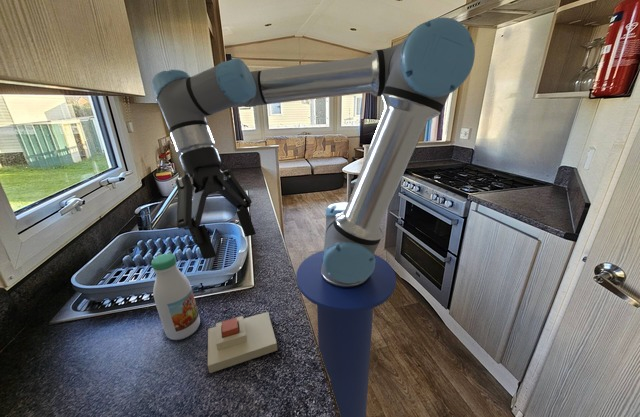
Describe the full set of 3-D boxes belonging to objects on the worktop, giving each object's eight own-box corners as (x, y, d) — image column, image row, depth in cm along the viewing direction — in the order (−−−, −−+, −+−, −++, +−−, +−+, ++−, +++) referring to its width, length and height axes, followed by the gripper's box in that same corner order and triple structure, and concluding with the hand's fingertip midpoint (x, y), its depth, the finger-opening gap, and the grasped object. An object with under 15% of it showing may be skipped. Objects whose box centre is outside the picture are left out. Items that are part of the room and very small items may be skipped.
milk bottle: (164, 346, 59) (139, 272, 52) (167, 322, 66) (145, 253, 58) (201, 333, 62) (182, 262, 55) (200, 312, 69) (183, 245, 61)
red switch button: (237, 323, 60) (236, 317, 60) (238, 333, 58) (237, 327, 57) (222, 327, 59) (221, 321, 59) (223, 338, 56) (222, 332, 56)
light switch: (268, 318, 66) (267, 305, 65) (277, 350, 57) (276, 336, 56) (209, 335, 62) (206, 322, 60) (209, 373, 53) (205, 359, 51)
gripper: (224, 154, 67) (251, 231, 70) (125, 160, 45) (172, 273, 47) (246, 144, 64) (274, 225, 67) (154, 145, 42) (201, 267, 44)
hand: (232, 245), depth 57 cm, fingers open, 13 cm apart
